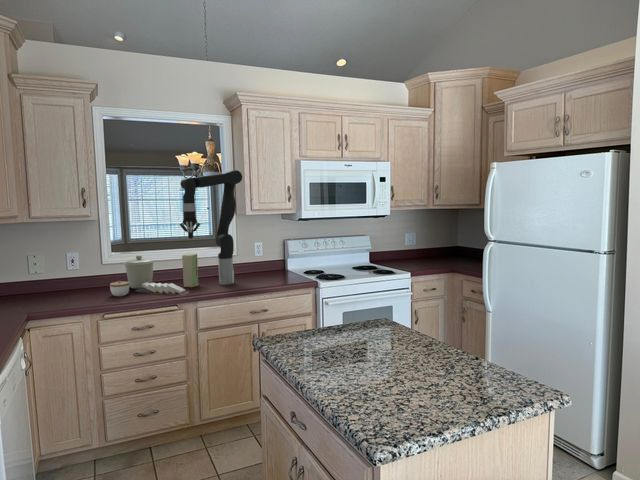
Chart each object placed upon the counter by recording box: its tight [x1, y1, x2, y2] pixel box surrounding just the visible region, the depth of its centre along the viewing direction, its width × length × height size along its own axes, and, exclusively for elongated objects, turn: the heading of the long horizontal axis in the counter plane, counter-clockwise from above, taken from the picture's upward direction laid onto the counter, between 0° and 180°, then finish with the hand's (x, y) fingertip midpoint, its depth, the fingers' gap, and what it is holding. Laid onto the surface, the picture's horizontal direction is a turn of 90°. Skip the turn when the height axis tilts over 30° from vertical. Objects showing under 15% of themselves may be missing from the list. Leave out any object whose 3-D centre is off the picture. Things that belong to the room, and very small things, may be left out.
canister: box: [123, 254, 155, 290], centre depth 290 cm, size 18×18×21 cm
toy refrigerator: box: [181, 253, 199, 288], centre depth 290 cm, size 8×7×21 cm
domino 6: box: [166, 283, 186, 294], centre depth 270 cm, size 2×5×10 cm
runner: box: [147, 290, 190, 296], centre depth 272 cm, size 24×9×1 cm, turn 75°
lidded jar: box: [109, 279, 130, 297], centre depth 268 cm, size 11×11×9 cm
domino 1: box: [135, 288, 152, 294], centre depth 276 cm, size 2×5×10 cm
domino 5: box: [160, 282, 177, 294], centre depth 272 cm, size 2×5×10 cm
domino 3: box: [148, 282, 164, 293], centre depth 274 cm, size 2×5×10 cm
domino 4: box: [154, 282, 171, 293], centre depth 273 cm, size 2×5×10 cm
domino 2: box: [142, 282, 158, 293], centre depth 275 cm, size 2×5×10 cm
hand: (190, 238), depth 280 cm, fingers closed
